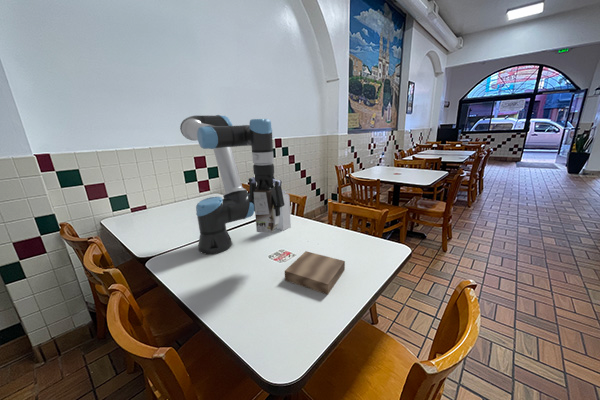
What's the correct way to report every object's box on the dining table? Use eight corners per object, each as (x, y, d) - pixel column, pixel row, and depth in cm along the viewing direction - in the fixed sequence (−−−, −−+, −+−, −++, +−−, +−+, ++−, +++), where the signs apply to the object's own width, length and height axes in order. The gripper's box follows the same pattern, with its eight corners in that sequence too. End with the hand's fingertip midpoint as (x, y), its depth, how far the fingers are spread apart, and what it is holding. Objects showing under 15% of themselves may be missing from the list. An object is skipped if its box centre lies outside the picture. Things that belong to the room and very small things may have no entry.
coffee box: (272, 233, 91) (269, 192, 86) (256, 232, 92) (252, 191, 87) (279, 224, 99) (277, 185, 94) (264, 223, 101) (261, 185, 96)
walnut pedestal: (285, 280, 89) (284, 270, 88) (306, 259, 102) (305, 251, 101) (327, 294, 80) (327, 284, 79) (344, 270, 94) (344, 261, 92)
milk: (283, 230, 131) (280, 191, 124) (275, 228, 135) (272, 189, 128) (291, 227, 135) (289, 189, 129) (283, 224, 139) (281, 187, 133)
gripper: (235, 163, 90) (241, 220, 97) (281, 166, 80) (284, 230, 87) (248, 160, 96) (253, 214, 103) (292, 163, 86) (295, 222, 93)
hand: (267, 221), depth 95 cm, fingers closed on coffee box, 8 cm apart
